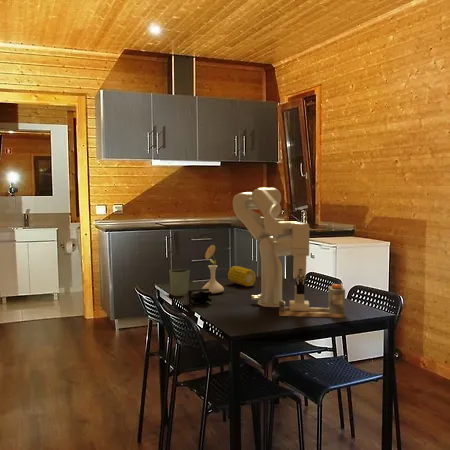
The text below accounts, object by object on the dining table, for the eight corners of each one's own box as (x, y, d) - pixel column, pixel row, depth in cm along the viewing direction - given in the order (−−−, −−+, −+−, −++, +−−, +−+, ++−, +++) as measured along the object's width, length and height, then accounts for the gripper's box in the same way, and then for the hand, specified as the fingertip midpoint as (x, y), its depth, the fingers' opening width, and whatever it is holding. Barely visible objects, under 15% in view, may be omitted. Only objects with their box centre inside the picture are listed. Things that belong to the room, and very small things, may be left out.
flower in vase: (201, 290, 268) (201, 242, 266) (223, 290, 269) (223, 242, 267) (202, 295, 255) (202, 245, 253) (225, 295, 256) (225, 245, 254)
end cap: (206, 301, 243) (206, 287, 242) (212, 304, 236) (212, 290, 236) (186, 303, 238) (186, 289, 238) (192, 306, 232) (192, 292, 231)
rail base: (279, 315, 216) (279, 288, 215) (279, 311, 224) (279, 284, 224) (344, 317, 213) (345, 290, 212) (342, 312, 222) (342, 286, 221)
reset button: (332, 288, 215) (332, 285, 215) (331, 286, 219) (331, 284, 219) (342, 288, 215) (342, 286, 215) (340, 287, 219) (340, 284, 219)
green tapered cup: (166, 295, 255) (166, 271, 254) (173, 291, 265) (173, 268, 264) (185, 296, 253) (185, 272, 252) (192, 292, 263) (192, 269, 262)
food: (258, 286, 279) (258, 268, 278) (239, 288, 274) (239, 269, 273) (244, 281, 293) (244, 264, 292) (225, 283, 287) (225, 265, 286)
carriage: (289, 311, 216) (290, 287, 216) (289, 307, 223) (289, 284, 223) (309, 311, 216) (309, 287, 215) (308, 307, 223) (308, 284, 222)
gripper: (290, 249, 226) (290, 288, 228) (291, 254, 209) (291, 295, 210) (308, 249, 226) (307, 288, 227) (310, 254, 209) (310, 296, 210)
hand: (300, 291), depth 219 cm, fingers open, 9 cm apart
